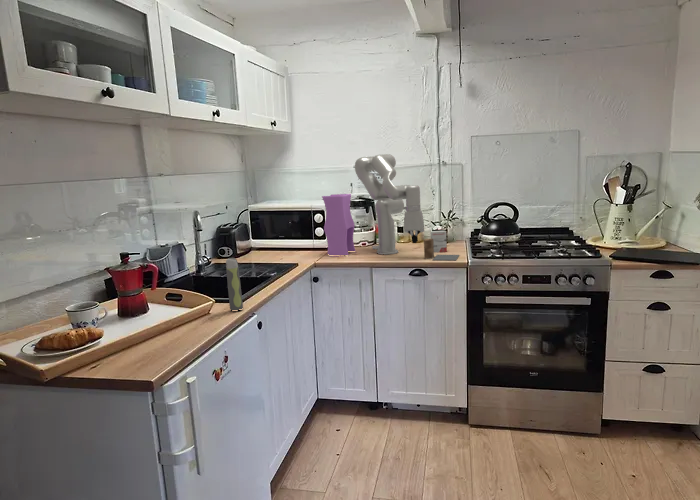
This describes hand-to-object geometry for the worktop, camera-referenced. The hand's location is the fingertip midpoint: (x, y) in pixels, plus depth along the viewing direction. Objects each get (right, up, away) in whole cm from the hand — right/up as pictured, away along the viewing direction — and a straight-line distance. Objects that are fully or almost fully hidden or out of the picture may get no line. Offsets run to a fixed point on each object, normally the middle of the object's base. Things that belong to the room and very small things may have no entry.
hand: (414, 242), depth 258 cm
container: (-40, -7, +25) cm, 48 cm away
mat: (+16, -8, -4) cm, 18 cm away
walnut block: (+8, -8, -1) cm, 11 cm away
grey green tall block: (-77, -27, -78) cm, 113 cm away
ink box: (+16, -5, +15) cm, 23 cm away
